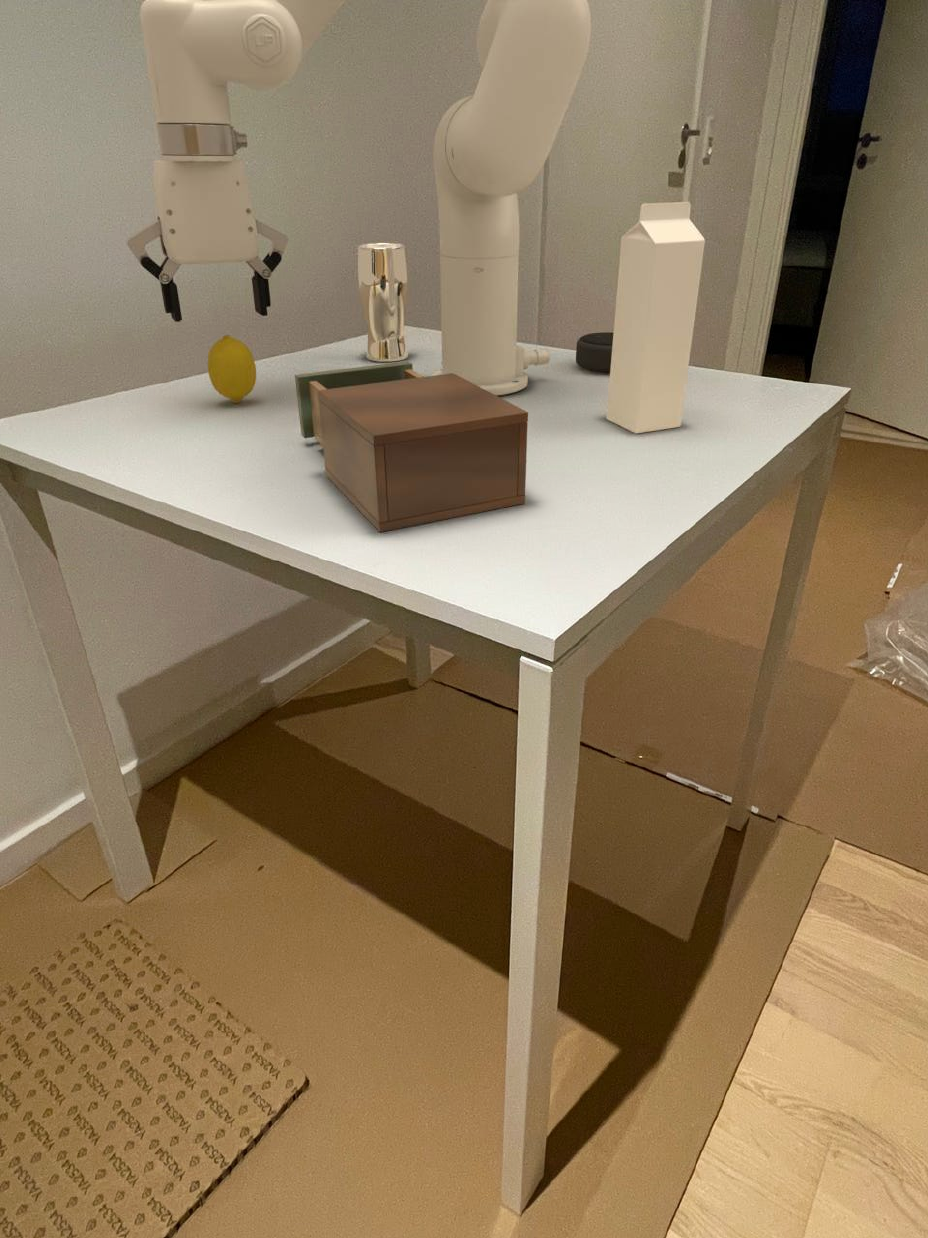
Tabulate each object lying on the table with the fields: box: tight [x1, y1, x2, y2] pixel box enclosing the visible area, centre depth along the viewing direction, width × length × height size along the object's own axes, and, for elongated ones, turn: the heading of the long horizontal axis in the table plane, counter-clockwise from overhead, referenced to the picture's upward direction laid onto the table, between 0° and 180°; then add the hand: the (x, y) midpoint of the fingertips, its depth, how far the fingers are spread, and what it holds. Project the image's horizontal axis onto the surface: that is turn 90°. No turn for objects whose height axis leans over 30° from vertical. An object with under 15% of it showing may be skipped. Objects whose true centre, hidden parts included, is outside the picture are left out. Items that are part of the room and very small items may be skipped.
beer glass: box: [357, 242, 409, 363], centre depth 115 cm, size 7×7×15 cm
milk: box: [606, 201, 706, 434], centre depth 85 cm, size 6×6×22 cm
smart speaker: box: [575, 331, 614, 375], centre depth 112 cm, size 9×9×4 cm
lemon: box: [207, 334, 257, 404], centre depth 97 cm, size 6×6×8 cm
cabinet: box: [318, 373, 529, 533], centre depth 72 cm, size 15×14×8 cm
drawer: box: [294, 361, 425, 447], centre depth 83 cm, size 21×12×6 cm, turn 26°
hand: (220, 316), depth 94 cm, fingers open, 9 cm apart
